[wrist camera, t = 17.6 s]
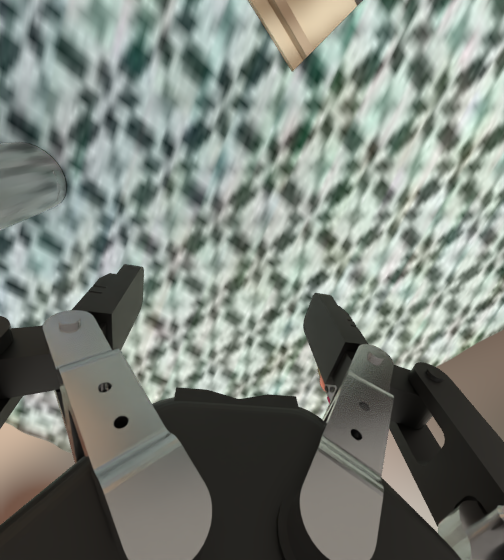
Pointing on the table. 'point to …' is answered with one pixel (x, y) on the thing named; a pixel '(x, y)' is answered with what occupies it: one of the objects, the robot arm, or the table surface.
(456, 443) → the robot arm
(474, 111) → the table surface
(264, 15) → the shelf ledge
